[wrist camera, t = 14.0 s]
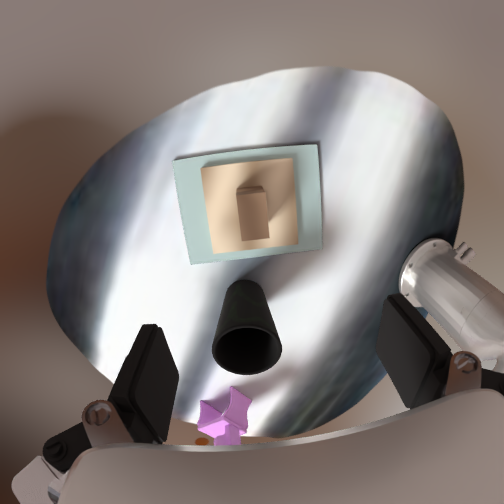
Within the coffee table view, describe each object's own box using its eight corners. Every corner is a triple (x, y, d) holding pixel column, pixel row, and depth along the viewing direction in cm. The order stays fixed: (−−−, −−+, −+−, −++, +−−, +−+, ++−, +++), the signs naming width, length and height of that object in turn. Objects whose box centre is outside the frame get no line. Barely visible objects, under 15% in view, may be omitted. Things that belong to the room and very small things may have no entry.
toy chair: (194, 399, 48) (187, 461, 34) (227, 383, 47) (226, 451, 33) (222, 416, 51) (220, 475, 37) (255, 402, 49) (259, 465, 35)
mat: (315, 144, 32) (317, 144, 32) (321, 247, 37) (322, 249, 37) (173, 160, 32) (172, 160, 32) (191, 262, 37) (190, 264, 37)
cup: (229, 265, 38) (225, 315, 27) (279, 283, 39) (294, 336, 28) (211, 309, 40) (203, 365, 29) (258, 323, 42) (264, 381, 30)
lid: (291, 157, 32) (301, 160, 27) (296, 241, 36) (307, 259, 31) (201, 167, 32) (193, 172, 27) (214, 251, 36) (209, 270, 31)
